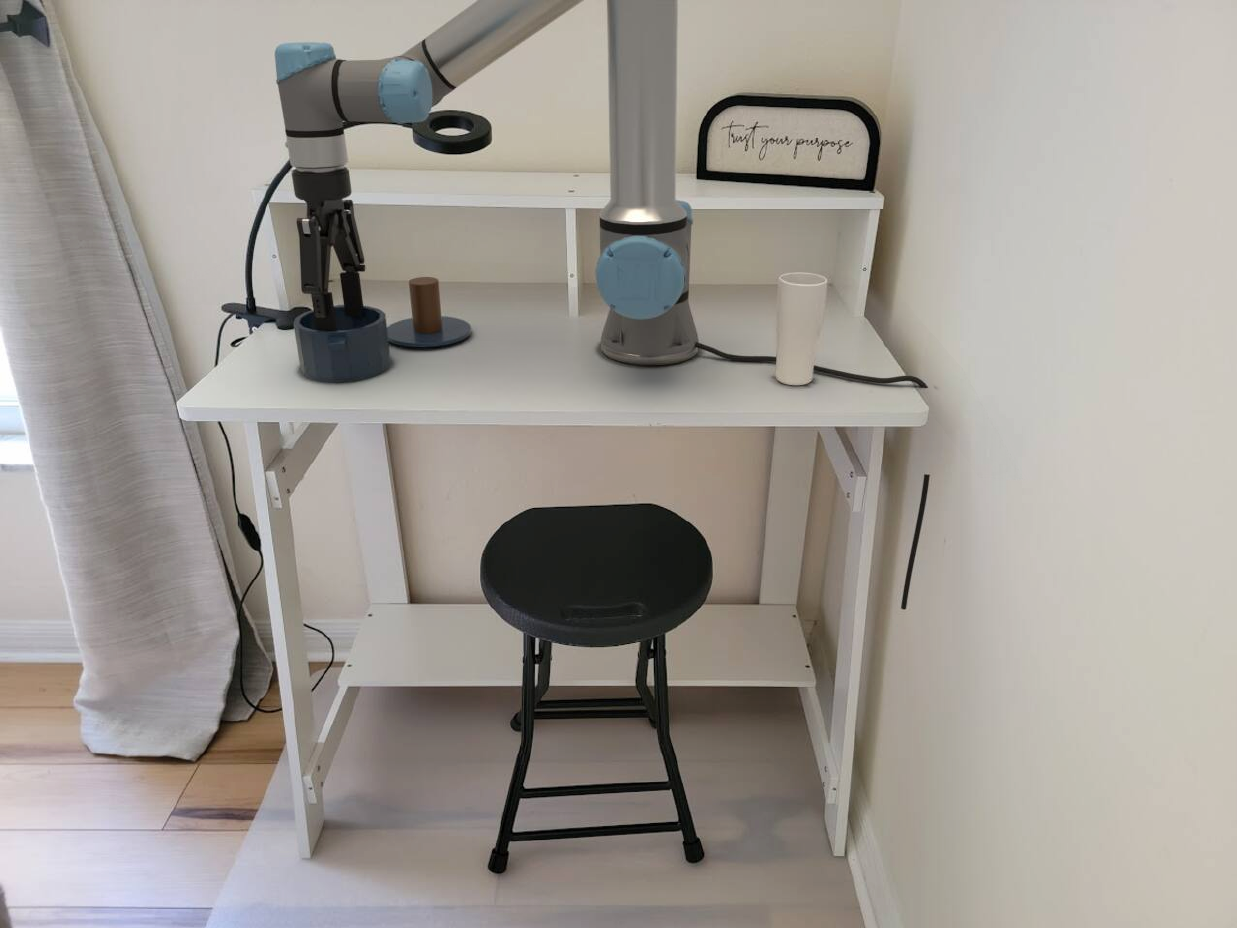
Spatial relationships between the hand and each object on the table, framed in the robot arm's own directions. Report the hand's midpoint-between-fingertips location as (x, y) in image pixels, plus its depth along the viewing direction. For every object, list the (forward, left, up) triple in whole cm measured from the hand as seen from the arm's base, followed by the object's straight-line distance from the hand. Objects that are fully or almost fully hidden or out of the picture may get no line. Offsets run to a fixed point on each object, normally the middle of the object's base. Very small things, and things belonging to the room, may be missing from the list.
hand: (341, 326), depth 137 cm
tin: (0, 0, -6) cm, 6 cm away
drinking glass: (-66, -4, -6) cm, 66 cm away
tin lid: (-8, -15, -6) cm, 18 cm away
